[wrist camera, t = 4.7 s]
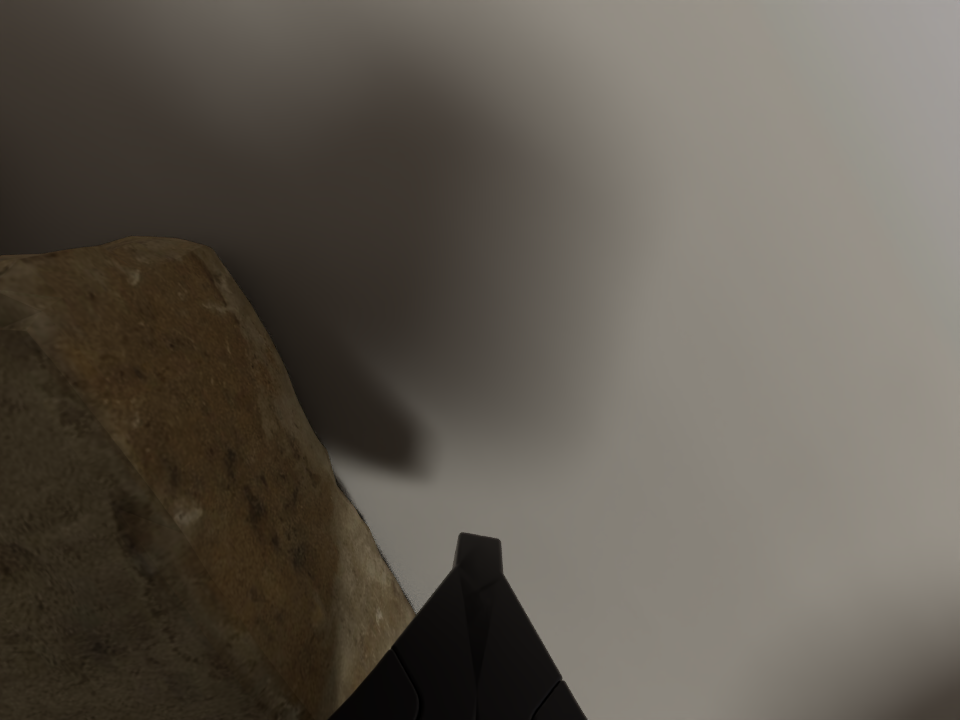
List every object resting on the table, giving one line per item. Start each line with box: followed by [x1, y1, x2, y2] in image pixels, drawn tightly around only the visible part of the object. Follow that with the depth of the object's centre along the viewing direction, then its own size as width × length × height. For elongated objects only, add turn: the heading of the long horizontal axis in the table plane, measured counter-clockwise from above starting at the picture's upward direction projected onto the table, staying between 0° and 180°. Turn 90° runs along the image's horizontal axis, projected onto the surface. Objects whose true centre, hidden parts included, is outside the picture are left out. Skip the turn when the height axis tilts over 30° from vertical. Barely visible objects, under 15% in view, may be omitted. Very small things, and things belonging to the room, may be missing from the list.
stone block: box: [0, 236, 416, 720], centre depth 8 cm, size 6×12×5 cm, turn 23°
